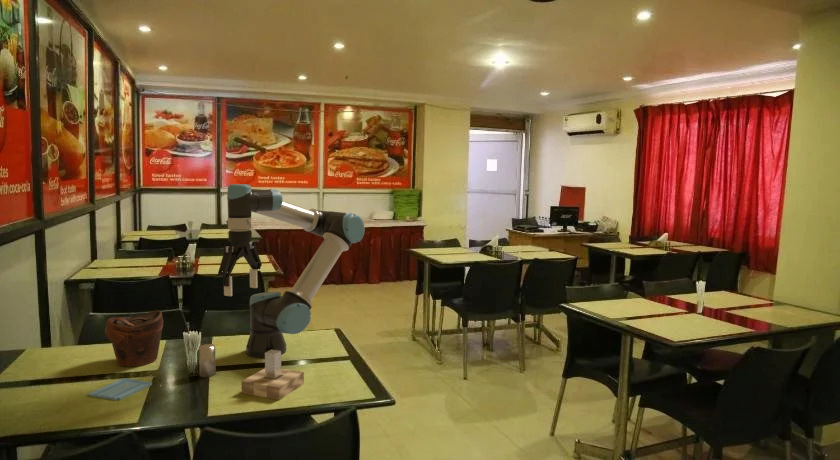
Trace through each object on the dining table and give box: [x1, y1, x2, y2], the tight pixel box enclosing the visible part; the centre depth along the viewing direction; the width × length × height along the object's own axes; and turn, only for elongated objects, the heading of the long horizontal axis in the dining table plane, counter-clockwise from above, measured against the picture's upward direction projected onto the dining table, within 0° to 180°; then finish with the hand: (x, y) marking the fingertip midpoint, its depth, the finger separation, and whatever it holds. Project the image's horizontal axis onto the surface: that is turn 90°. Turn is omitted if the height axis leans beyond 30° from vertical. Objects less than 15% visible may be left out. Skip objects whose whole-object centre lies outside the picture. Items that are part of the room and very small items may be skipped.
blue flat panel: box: [87, 377, 153, 401], centre depth 176 cm, size 14×12×1 cm
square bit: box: [264, 350, 282, 380], centre depth 178 cm, size 4×4×12 cm
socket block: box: [240, 367, 305, 401], centre depth 179 cm, size 14×14×4 cm
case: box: [104, 309, 164, 368], centre depth 201 cm, size 18×20×18 cm
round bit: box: [198, 343, 217, 378], centre depth 190 cm, size 5×5×10 cm
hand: (241, 291), depth 189 cm, fingers open, 13 cm apart
